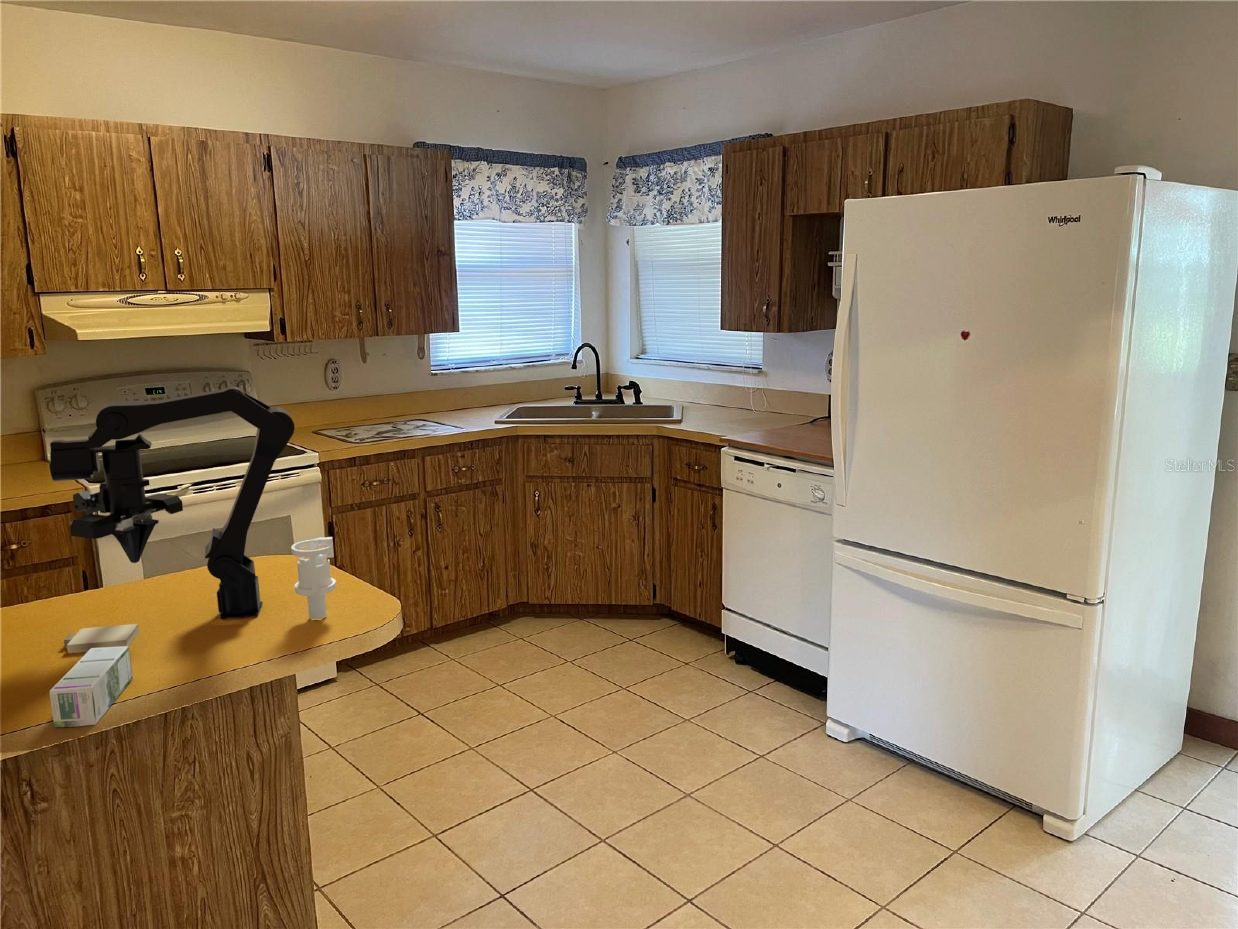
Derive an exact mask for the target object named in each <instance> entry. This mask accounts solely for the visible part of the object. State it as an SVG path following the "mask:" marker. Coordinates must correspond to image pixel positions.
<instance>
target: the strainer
mask: <svg viewBox="0 0 1238 929" xmlns="http://www.w3.org/2000/svg"><path fill="white" fill-rule="evenodd" d="M333 541H334V540H333V536H327V537H320V536H319V537H316V538H315V539H308V540H307V539H306V540H302V541H298V542H296V543H294V544H292V545H291V546H290V547H291V554H292V555H293V556H294V557H297V558H298V559H297V560H296V564H297V575H298V576H297V577H298V581H297V582H296V583H295V584H294V592H295V594H297V595H299V596H302V597H303V596H304V597H307V605H308V606H307V607H308V619H309V618H310V619H322V618H323V617H325V616H327V617H328V615H327V614H328V613H327V604H326V600H327V599H326V594H329V593H332V592H333V591H335V590H336V588H337V580H336V579H335V578H333V577H332V572H331V561H330V558H334V555H335V554H334V542H333ZM318 546H320V547H323V548H318ZM308 547H309V550H302V549H303V548H308ZM317 548H318V549H317ZM300 549H301V550H300ZM305 558H308V559H305ZM328 558H329V559H328ZM325 559H327V562H325ZM310 619H309V620H310Z"/></svg>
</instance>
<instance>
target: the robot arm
mask: <svg viewBox="0 0 1238 929" xmlns="http://www.w3.org/2000/svg"><path fill="white" fill-rule="evenodd" d="M225 412H226V413H227V412H232V413H233V414H235V415H237V416H238V417H240V418H241V419H243V420H245V421H246V422H247V423H249V424H250V425H252V426H253V427H254V428H257V429H256V434H255V442H254V446H253V447H254V448H253V453H252V455H251V458H250V461H249V463H248V466H247V468H246V472H245V474H244V476H243V479H242V482H241V484H240V486H239V490H238V492H237V494H236V498H235V499H234V502H233V505H232V508H231V511H230V513H229V515H228V518H227V521H226V522H225V524H224V525H223V527H222V528H221V530H219V529H218V528H214V527H213V528H212V530H211V536H210V540H209V542H208V543H207V544H206V545H205V547H204V559H207V562H206V566H207V568H206V569H207V571H208V572H209V574H210V575H211V576H212V577H214V578H216V579H218V580H219V584H218V590H217V591H216V598H217V600H216V601H217V607H218V608H217V609H218V610H217V611H218V613H219V614H220V615H219V620H226V619H240V618H251V617H258V616H259V614H260V611H261V609H262V606H263V601H261V595H260V594H261V593H260V584H259V576H258V575H256V566H255V562H254V560H253V559H251V558H250V557H248V556H247V555H245V551H246V550H245V549H246V544H247V537H248V536H247V535H248V532H249V528H250V527H251V526H250V525H251V523H252V521H253V518H254V516H255V513H256V510H257V508H258V506H259V503H260V500H261V498H262V494H263V492H264V490H265V487H266V484H267V481H268V480H269V476H270V475H271V472H272V469H273V467H274V464H275V462H276V461H277V459H278V458H279V457H280V455H281V454H282V453H283V451H284V450H285V448H286V446H287V445H288V443H289V442H290V440H291V438H292V436H293V435H294V433H295V429H296V428H295V423H294V420H293V419H292V416H291V414H290V412H288V411H287V410H286V409H285V408H283V407H279V406H269V405H268V404H267V403H264V401H261V400H259V399H257V398H255V397H253V396H252V395H249V394H248V393H246V392H244V391H243V389H241V388H239V387H238V386H231V385H230V386H228V387H225V388H222V389H216V390H211V391H206V392H199V393H194V394H189V395H185V396H184V395H183V396H178V397H173V398H167V399H161V400H151V401H150V400H148V401H147V400H115V401H114V400H113V401H110V402H108V403H107V404H105V405H104V406H103V407H102V409H100V411H99V413H97V415H96V418H95V426H96V429H95V430H94V432H93V431H92V432H91V433H90V434H89V435H88V436H87V437H88V438H87V439H85V438H84V439H72V440H63V439H58V440H57V439H55V440H52V441H51V442H50V443H49V447H50V453H49V454H50V455H49V456H50V457H49V458H50V461H49V465H48V466H49V471H50V476H51V479H52V481H53V482H62V481H64V482H65V481H66V482H68V481H77V480H78V481H79V480H90V479H94V475H95V473H100V472H101V470H100V469H101V463H100V455H99V453H101V460H102V465H103V466H102V467H103V472H104V473H103V474H104V480H105V481H104V482H101V483H99V485H98V486H99V491H98V492H95V493H92V494H91V493H90V492H89V491H88V490H83V491H81V492H80V491H79V492H76V493H74V494H72V503H73V504H72V505H73V506H74V509H75V511H76V512H77V513H81V512H83V511H84V512H85V514H86V515H83V516H79V517H76V518H73V519H72V520H71V522H70V524H69V531H70V536H71V537H77V538H86V539H90V540H92V539H93V540H96V539H101V538H104V537H107V536H110V535H113V537H114V538H115V539H116V540H117V541H118V543H119V545H120V546H121V548H122V550H123V552H124V553H125V554H126V557H127V559H128V560H129V561H130V563H133V564H136V563H138V562H140V560H141V557H142V555H143V553H144V550H145V547H146V546H147V543H148V541H149V538H150V536H151V534H152V533H153V530H154V528H155V526H156V525H157V524H159V521H160V520H158V519H154V518H153V515H152V514H154V513H157V512H160V511H163V510H165V512H166V513H168V514H169V515H174V514H177V513H180V512H183V510H184V509H183V501H182V499H181V498H180V497H179V496H178V495H177V494H175V495H174V494H166V493H165V494H164V493H156V494H153V495H149V496H146V490H145V487H149V486H150V479H147V478H144V474H143V466H142V465H143V464H142V458H141V451H140V450H149V449H150V448H152V447H151V446H152V444H153V443H152V441H151V440H148V439H147V438H145V437H144V436H143V435H142V434H141V433H142V432H144V431H146V430H147V431H148V430H149V429H151V428H154V427H156V426H160V425H162V424H163V425H164V424H169V423H173V422H179V421H184V420H185V421H186V420H190V419H194V418H199V417H205V416H210V415H215V414H222V413H225ZM135 435H136V437H135V438H130V439H128V437H130V436H135ZM126 438H127V439H126ZM112 440H113V441H114V440H115V442H114V443H115V444H113V445H106V444H107V443H109V442H110V441H112ZM97 512H99V513H100V514H95V513H97ZM102 514H109V515H102Z"/></svg>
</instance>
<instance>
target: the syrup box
mask: <svg viewBox="0 0 1238 929" xmlns="http://www.w3.org/2000/svg"><path fill="white" fill-rule="evenodd" d="M133 676H134V675H133V669H132V661H131V655H130V647H128V646H121V647H102V648H91V649H90V650H89V651H88V652H85V654H84V655H83V656H82V657H81V658H80V659H79V660H78V661H77V662H76V663H75V664H74V665H73V667H72V668H70V670H69V671H68V672H66V674H64V675H63V677H62V678H61V679H60V680H59V681H58V682H56V683H55V685H54V686H53V687H52V688H51V689H50V690H49V698H50V705H51V712H52V719H53V720H52V721H53V727H54V728H71V727H72V728H73V727H75V728H77V727H83V726H84V727H85V726H96V724H98V722H99V721H100V720H101V719H102V717H103V716H104V715H105V713H107V711H108V710H109V709H110V707H112V705H113V704H114V703H115V701H116V700H117V699H118V698H119V697H120V695H121V694H122V692H123V691H124V690H125V689H126V687H127V686H128V685H129V684H130V683H131V682H132V680H133Z"/></svg>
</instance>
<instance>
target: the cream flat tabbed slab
mask: <svg viewBox="0 0 1238 929" xmlns="http://www.w3.org/2000/svg"><path fill="white" fill-rule="evenodd" d="M139 628H140V627H139V623H131V624H120V625H109V626H108V625H107V626H97V627H95V626H94V627H83V628H80V629H79V631H78V632H77V633H71V634H68V635H67V636H65V638H64V639H63V644H64V649H67V654H78V653H87V652H88V651H89V650H90V649H91V648H102V647H121V646H128V647H129V646H131V644H132V643H133V641H134V640H135V638H136V637H137V635H138V634H139V633H140V629H139ZM129 648H130V647H129Z"/></svg>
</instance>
